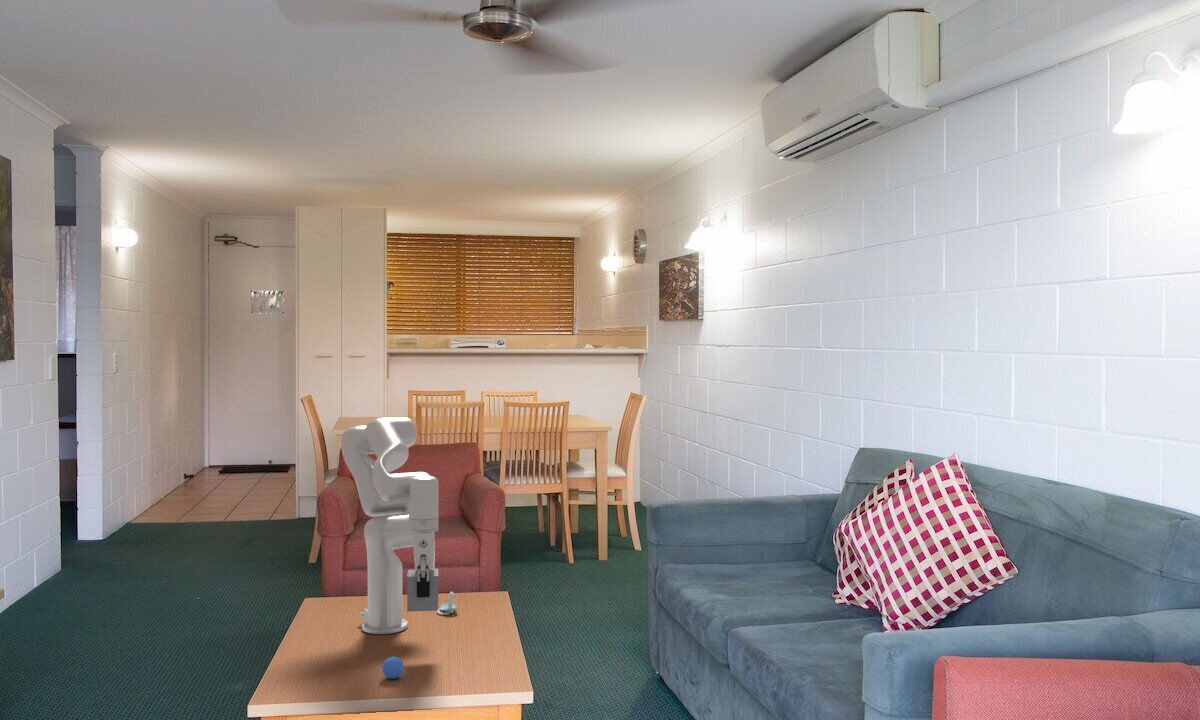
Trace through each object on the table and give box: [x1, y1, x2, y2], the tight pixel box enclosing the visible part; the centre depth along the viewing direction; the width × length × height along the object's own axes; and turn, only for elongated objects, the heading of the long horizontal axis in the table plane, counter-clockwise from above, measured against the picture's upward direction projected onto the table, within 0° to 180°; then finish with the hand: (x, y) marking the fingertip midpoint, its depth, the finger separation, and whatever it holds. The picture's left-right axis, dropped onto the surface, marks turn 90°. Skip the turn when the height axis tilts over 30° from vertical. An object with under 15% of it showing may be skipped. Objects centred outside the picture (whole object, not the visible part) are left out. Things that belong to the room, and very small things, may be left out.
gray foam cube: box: [406, 568, 439, 613], centre depth 237 cm, size 8×8×9 cm
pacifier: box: [436, 591, 459, 616], centre depth 275 cm, size 7×6×6 cm
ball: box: [381, 656, 405, 680], centre depth 220 cm, size 5×5×5 cm
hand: (423, 592), depth 237 cm, fingers closed on gray foam cube, 7 cm apart
